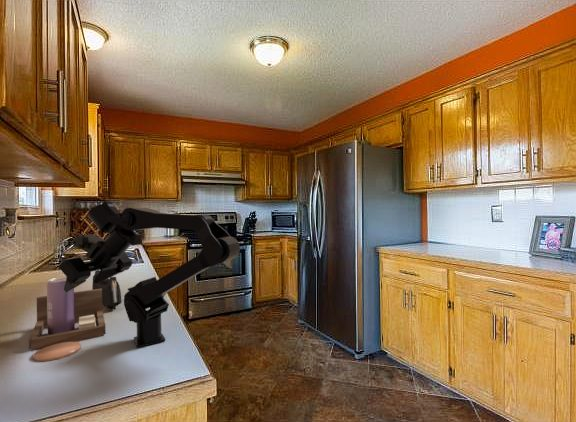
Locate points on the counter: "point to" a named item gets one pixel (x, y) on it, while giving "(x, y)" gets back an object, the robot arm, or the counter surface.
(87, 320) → the offcut stack
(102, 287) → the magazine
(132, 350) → the counter surface
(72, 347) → the peach round disc
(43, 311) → the walnut rack
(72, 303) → the beverage can
